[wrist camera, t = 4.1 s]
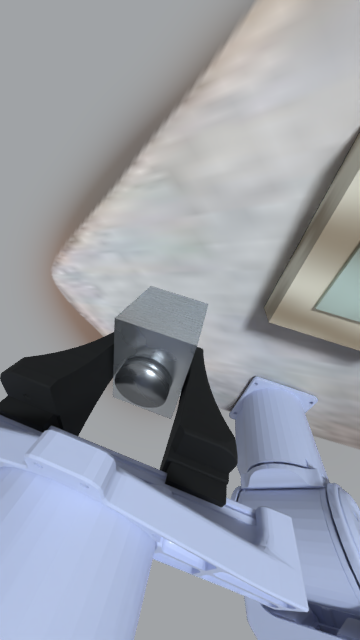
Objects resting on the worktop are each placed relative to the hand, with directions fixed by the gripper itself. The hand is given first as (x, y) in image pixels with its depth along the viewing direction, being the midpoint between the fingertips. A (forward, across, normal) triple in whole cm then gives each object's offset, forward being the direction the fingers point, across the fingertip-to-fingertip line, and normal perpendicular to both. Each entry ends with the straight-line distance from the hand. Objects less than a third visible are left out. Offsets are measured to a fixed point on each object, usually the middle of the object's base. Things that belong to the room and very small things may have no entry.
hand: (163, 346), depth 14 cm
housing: (+2, 0, 0) cm, 2 cm away
